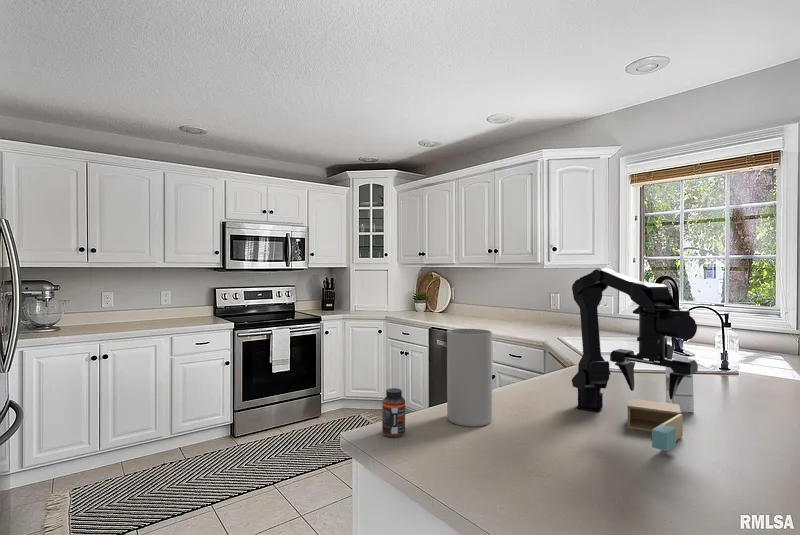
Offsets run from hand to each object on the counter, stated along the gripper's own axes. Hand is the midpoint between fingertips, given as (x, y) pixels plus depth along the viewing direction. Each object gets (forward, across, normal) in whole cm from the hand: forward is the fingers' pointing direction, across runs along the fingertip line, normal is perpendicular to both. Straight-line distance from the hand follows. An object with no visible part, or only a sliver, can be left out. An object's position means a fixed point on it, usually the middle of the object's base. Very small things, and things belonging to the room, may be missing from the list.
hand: (651, 394), depth 110 cm
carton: (+11, +2, -7) cm, 13 cm away
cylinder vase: (+11, +37, +27) cm, 47 cm away
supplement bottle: (+11, +42, +50) cm, 67 cm away
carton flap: (+10, -7, +4) cm, 13 cm away
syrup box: (+11, +3, -30) cm, 32 cm away
